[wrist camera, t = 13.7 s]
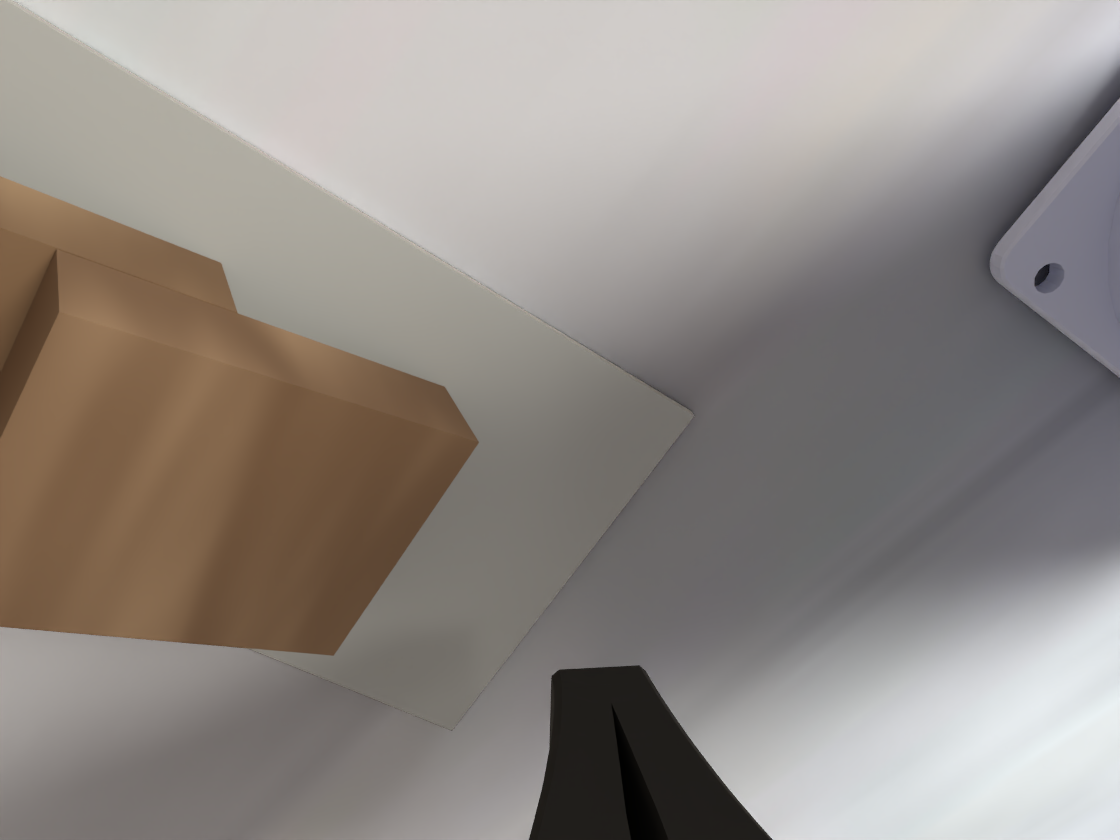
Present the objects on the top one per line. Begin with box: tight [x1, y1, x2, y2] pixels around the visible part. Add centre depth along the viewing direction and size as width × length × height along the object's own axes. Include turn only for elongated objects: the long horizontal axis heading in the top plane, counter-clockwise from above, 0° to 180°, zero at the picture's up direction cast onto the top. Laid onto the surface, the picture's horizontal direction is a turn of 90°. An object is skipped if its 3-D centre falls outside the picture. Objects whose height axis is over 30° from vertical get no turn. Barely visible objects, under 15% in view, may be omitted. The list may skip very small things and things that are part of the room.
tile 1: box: [0, 249, 479, 656], centre depth 13 cm, size 2×5×6 cm
